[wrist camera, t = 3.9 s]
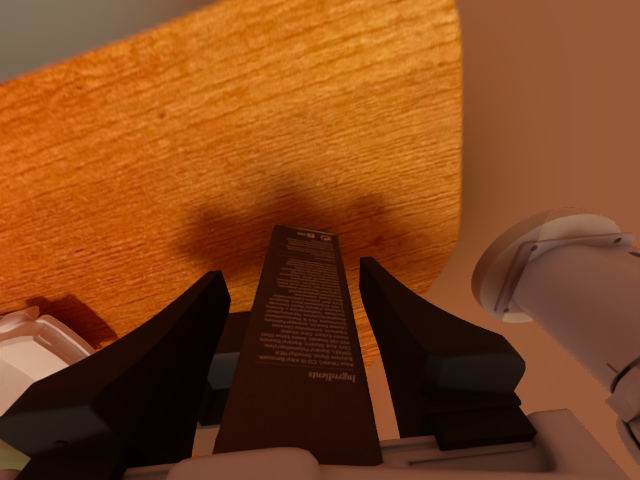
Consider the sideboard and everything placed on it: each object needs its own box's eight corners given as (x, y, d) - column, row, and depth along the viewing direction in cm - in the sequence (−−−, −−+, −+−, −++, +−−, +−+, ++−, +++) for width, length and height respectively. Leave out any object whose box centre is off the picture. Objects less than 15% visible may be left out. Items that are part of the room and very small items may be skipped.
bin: (303, 306, 19) (304, 345, 16) (313, 376, 24) (315, 417, 21) (174, 319, 19) (149, 361, 16) (210, 387, 23) (197, 430, 20)
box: (269, 221, 15) (195, 490, 5) (338, 233, 16) (409, 487, 5) (260, 293, 18) (202, 560, 7) (319, 300, 19) (341, 553, 8)
